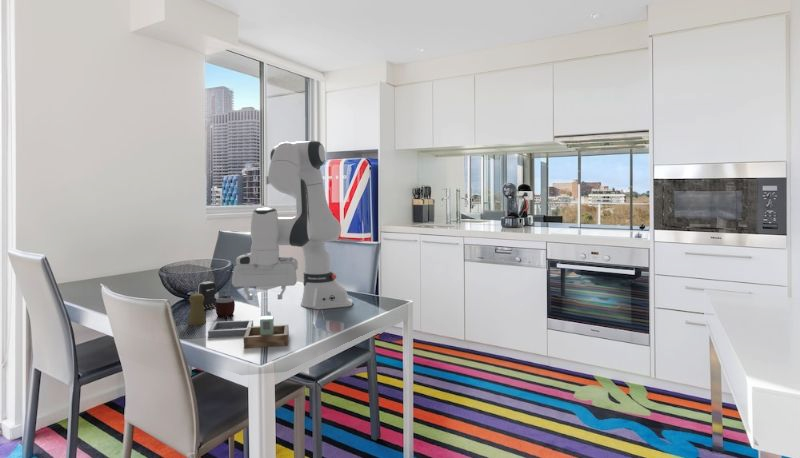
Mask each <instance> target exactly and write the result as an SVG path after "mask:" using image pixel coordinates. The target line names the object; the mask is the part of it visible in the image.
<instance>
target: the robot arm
mask: <svg viewBox="0 0 800 458" xmlns="http://www.w3.org/2000/svg"><path fill="white" fill-rule="evenodd" d="M269 154H270V155H269V156H270V164H269V167H268V168H269V169H268V173H267V177H268V181H269V183H270V185H271V186H272V187H273V189H275V190H276V191H278V192H280V193H282V194H285V195H287V196H290V197H292V198H293V199H295V206H296V215H295V216H293V217H291V216H290V217H287V216H286V217H285V216H284V217H283V216H282V217H281V216H279V215H278V211H277V209H276V208H273V207H266V206H264V207H257V208H256V209H254V210H253V211H252V214H251V222H250V238H251V246H250V251H249V252H247V253H245V254H241V255H238V256H237V257H236V258H235V264H236V265H235V266H234V268H233V271H232V276H231V279H232V282H231V286H233V287H234V288H239V287H240V288H243V291H244V292H245V294H246V296H247V297H246V299H247V301H253V299H254V298H253V296H254V295H253V293H251V292H250V291H249V289H250V287H251V288H252V287H253V288H254V287H280V289H281V292H278V293H277V300H283V294H284V293H285V291H286V287H287V286H288V287H291V286H295V285H296V284H297V282H298V281H297V280H298V279H297V271H298V267H299V265H298V260H297V259H296V258H294V257H280V246H290V247H298V248H302V252H303V264H304V265H303V267H304V270H303V275H302V284H303V293H302V298H301V302H300V305H301V306H302V307H304V308H309V309H314V310H324V309H325V310H326V309H334V308H335V309H336V308H347V307H351V306H353V304H354V303H353V299H352V298H351V297H348V296H349V295H348V291H347V289H346V288H345V287H344V286H343V285H342V284H340V283H339V282H338V281H336V279H337V275H336V273H334V272H331V256H330V253H329V251H328V250H327V248H326V246H325V244H324V243H327V242H333V241H336V240H338V239H339V238H340V235H341V233H342V225H341V223H340V222H339V220H338V219H337V218H336V217H335V216H334V215H333V212H332V210H331V208H330V206H329V204H328V201H327V199H326V198H327V197H326V192H325V186H324V180H323V174H322V170H321V167H322V166H323V165H324V163H325V161H326V150H325V147H324V145H323V144H322V143H321V141H318V140H310V141H295V142H289V141H285V142H280V143H279V144H278V145H276V146H274V147H272V149H271V150H270V153H269ZM278 216H279V217H278Z"/></svg>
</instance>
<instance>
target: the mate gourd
mask: <svg viewBox="0 0 800 458" xmlns="http://www.w3.org/2000/svg"><path fill="white" fill-rule="evenodd" d="M231 286H232V278H231V279H230V280H229V283H228V292H227V295H221V296H218V297H217V298H216V300H215V313H216V315H217V316H216V319H223V318H224V319H225V320H228V318H233V317H235V315H234V312H235V307H236V304H235V303H236V302H235V298H234V297H233V296H232V295H230V292H231Z"/></svg>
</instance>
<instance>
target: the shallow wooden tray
mask: <svg viewBox="0 0 800 458" xmlns="http://www.w3.org/2000/svg"><path fill="white" fill-rule="evenodd" d="M246 328H247V327H246ZM289 329H290V328H289V324H278V325H277V324H276V325H274V335H260V325H258V326H257V325H256V326H255V325H253V327H248V328H247V330H246V333H245V335H244V336H243V349H252V348H253V349H254V348H269V347H271V348H272V347H286V346H288V344H289V335H290V333H289V331H290V330H289Z"/></svg>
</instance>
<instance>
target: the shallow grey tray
mask: <svg viewBox="0 0 800 458" xmlns="http://www.w3.org/2000/svg"><path fill="white" fill-rule="evenodd" d="M248 327H254V319H243V320H241V319H240V320H227V321H226V320H225V321H223V320H222V321H214V322H213V323H212V325H211V326H210V328H209V329H208V331H207V337H208V338H212V339H213V338H228V337H230V338H231V337H244V335H245V333H246V330H247V328H248Z"/></svg>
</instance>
